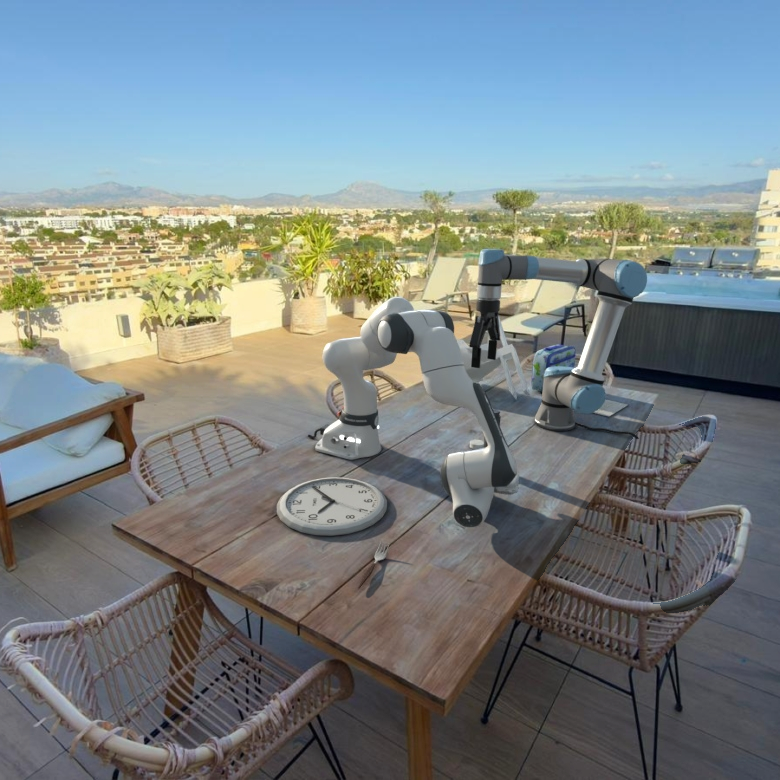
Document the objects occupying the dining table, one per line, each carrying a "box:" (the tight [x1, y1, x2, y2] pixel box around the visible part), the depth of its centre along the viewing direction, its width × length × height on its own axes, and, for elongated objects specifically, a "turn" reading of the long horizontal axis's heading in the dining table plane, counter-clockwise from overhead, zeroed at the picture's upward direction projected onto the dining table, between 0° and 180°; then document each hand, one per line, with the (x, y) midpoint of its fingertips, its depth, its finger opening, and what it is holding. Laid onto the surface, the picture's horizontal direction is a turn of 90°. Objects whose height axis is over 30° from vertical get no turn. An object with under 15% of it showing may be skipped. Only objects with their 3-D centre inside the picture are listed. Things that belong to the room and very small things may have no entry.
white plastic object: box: [456, 315, 531, 400], centre depth 245 cm, size 37×45×31 cm
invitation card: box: [592, 398, 629, 418], centre depth 226 cm, size 21×1×15 cm
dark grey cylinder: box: [483, 408, 502, 448], centre depth 163 cm, size 4×4×19 cm
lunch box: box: [530, 344, 577, 393], centre depth 247 cm, size 26×11×21 cm, turn 134°
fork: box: [357, 541, 391, 589], centre depth 116 cm, size 3×16×2 cm, turn 160°
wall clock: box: [276, 476, 388, 537], centre depth 142 cm, size 30×2×30 cm
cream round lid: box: [469, 439, 484, 450], centre depth 182 cm, size 5×5×2 cm
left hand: (485, 466), depth 153 cm, fingers open, 8 cm apart
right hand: (483, 363), depth 174 cm, fingers open, 13 cm apart
